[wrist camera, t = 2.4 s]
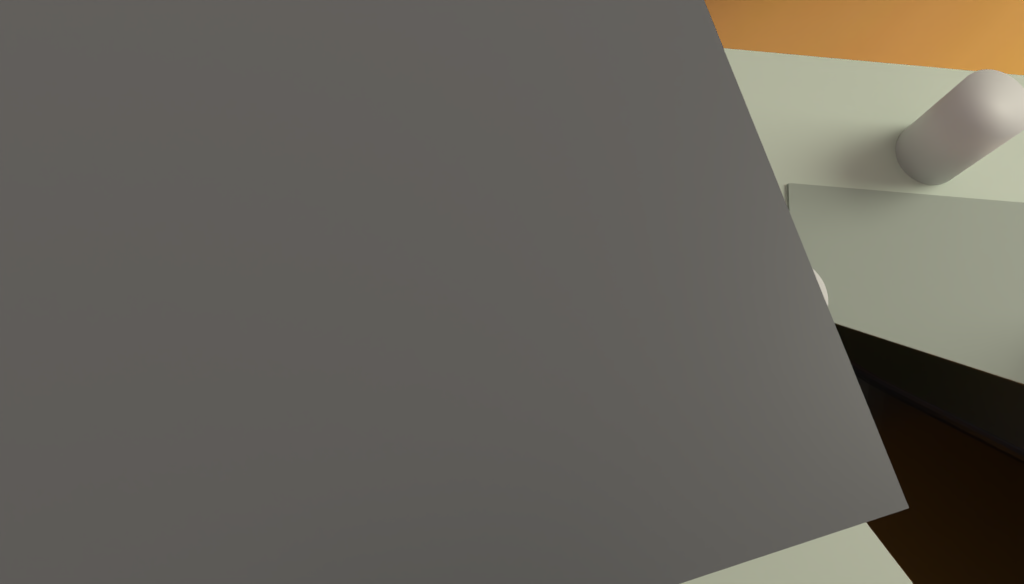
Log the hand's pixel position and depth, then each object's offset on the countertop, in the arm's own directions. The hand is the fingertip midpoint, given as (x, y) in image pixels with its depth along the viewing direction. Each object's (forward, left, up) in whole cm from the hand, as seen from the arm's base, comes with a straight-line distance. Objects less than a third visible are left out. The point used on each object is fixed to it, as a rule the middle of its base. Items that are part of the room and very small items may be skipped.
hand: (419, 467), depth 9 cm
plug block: (+1, 0, -9) cm, 9 cm away
